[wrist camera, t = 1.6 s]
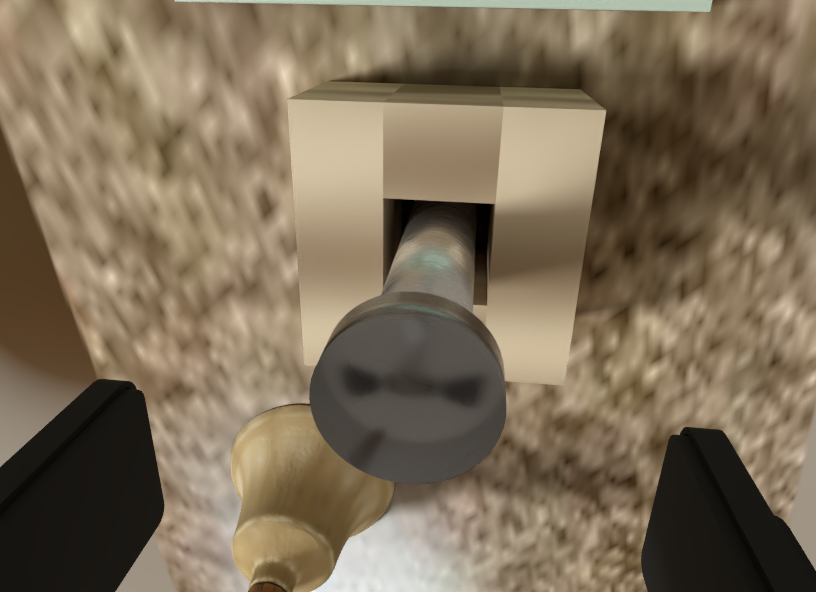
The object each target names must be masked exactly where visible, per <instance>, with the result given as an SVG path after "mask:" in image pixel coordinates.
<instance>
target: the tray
mask: <svg viewBox="0 0 816 592" xmlns="http://www.w3.org/2000/svg"><path fill="white" fill-rule="evenodd" d="M175 1H183V2H213V3H254V4H305V5H355V6H406V7H457V8H507V9H558V10H609V11H659V12H710V9H711V4H712V0H175Z"/></svg>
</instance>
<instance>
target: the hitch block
mask: <svg viewBox="0 0 816 592" xmlns="http://www.w3.org/2000/svg"><path fill="white" fill-rule="evenodd" d="M287 102H288V117H289V133H290V148H291V164H292V179H293V195H294V210H295V226H296V242H297V257H298V273H299V288H300V304H301V319H302V335H303V350H304V365H308V366H316V365H317V363H318V361H319V359H320V356H321V354H322V352H323V350H324V348H325V346H326V344H327V342H328V340H329V338H330V336H331V334H332V332H333V330H334V328H335V327H336V326H337V324H338V323H339V321H340V320H341V319H342V318H343V317H344V316H345V315H346V314H347V313H348V312H349V311H351V310H352V309H353V308H355V307H356V306H358V305H359V304H361V303H363V302H365V301H367V300H369V299H372V298H374V297H377V296H380V295H381V293H382V291H383V288H384V285H385V282H386V280H387V277H388V274H389V271H390V269H391V266H392V263H393V260H394V258H395V255H396V252H397V250H398V247H399V244H400V241H401V239H402V200H403V199H408V200H428V201H448V202H468V203H488V204H490V215H489V228H488V240H487V251H482V250H475V270H474V295H473V314H474V315H475V316H476V317H477V318H478V319H480V320H481V321H482V322H483V324H484V325H485V326H486V327H487V328H488V329H489V331H490V332H491V334H492V335H493V337H494V338H495V340H496V342H497V344H498V347H499V349H500V351H501V355H502V358H503V364H504V372H505V381H513V382H525V383H538V384H551V385H564V383H565V377H566V370H567V364H568V357H569V350H570V344H571V337H572V331H573V324H574V318H575V311H576V305H577V298H578V292H579V285H580V279H581V272H582V266H583V259H584V253H585V246H586V240H587V233H588V227H589V220H590V214H591V207H592V201H593V194H594V187H595V181H596V174H597V168H598V161H599V155H600V148H601V142H602V135H603V129H604V122H605V116H606V110H605V109H604V108H603V107H602V106H600V105H599V104H598V103H597V102H595V101H594V100H593V99H592V98H591V97H589V96H588V95H587V94H586V93H584V92H583V91H582V90H581V89H555V88H523V87H492V86H461V85H430V84H399V83H367V82H336V81H327V82H325V83H323V84H320V85H318V86H316V87H314V88H311V89H309V90H307V91H305V92H302V93H300V94H298V95H296V96H293V97H291V98H289V99H287Z"/></svg>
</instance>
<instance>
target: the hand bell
mask: <svg viewBox="0 0 816 592" xmlns="http://www.w3.org/2000/svg"><path fill="white" fill-rule="evenodd" d="M230 466H231V475H232V480H233V483H234V486H235V489H236V491H237V493H238V495H239V497H240V498H241V500H242V507H241V513H240V517H239V521H238V524H237V528H236V531H235V534H234V537H233V540H232V554H233V558H234V561H235V563H236V565H237V567H238V569H239V570H240V571H241V573H242V574H243V575H244V576H245V577H246V578H247V579H248V580H249V581H251V583H250V585H249V591H248V592H310V591H313V590H315V589H317V588H318V587H320V586H321V585H322V584H324V583H325V582H326V581H327V579H328V578H329V577H330V575H331V574H332V572H333V570H334V568H335V565H336V562H337V560H338V557H339V555H340V553H341V551H342V549H343V546H344V545H345V543H346V541H347V540H348V538H349V537H351V536H354V535H356V534H359V533H360V532H362V531H364V530H366V529H367V528H369V527H370V526H371V525H373V524H374V523H375V522H376V521H377V520H378V519H379V518H380V517H381V516H382V515H383V514H384V512H385V511H386V510H387V508H388V506H389V505H390V502H391V500H392V497H393V493H394V487H395V482H391V481H387V480H383V479H380V478H377V477H374V476H371V475H369V474H367V473H365V472H363V471H361V470H359V469H357V468H355V467H354V466H352V465H350V464H349V463H348V462H346V461H345V460H344V459H342V458H341V457H340V456H339V455H338V454H337V453H336V452H335V451H334V450H333V449H332V448H331V447H330V446H329V445H328V444H327V442H326V441H325V440H324V438H323V437H322V435H321V433H320V432H319V430H318V428H317V426H316V424H315V421H314V419H313V415H312V412H311V407H310V405H287V406H282V407H277V408H275V409H271V410H268V411H266V412H263V413H261V414H260V415H258V416H256V417H254V418H253V419H252V420H251V421H249V422H248V423H247V424H246V425H245V426H244V427H243V428H242V429H241V431H240V432H239V434H238V435H237V437H236V439H235V441H234V444H233V447H232V450H231V457H230Z"/></svg>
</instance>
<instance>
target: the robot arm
mask: <svg viewBox="0 0 816 592" xmlns="http://www.w3.org/2000/svg"><path fill="white" fill-rule="evenodd" d="M163 512H164V499H163V494H162V488H161V483H160V478H159V472H158V467H157V461H156V456H155V451H154V445H153V440H152V434H151V429H150V424H149V418H148V413H147V407H146V402H145V397H144V394H143V393H142V391H140V390H137V389H136V386H135V385H134V384H133V383H132V382H130V381H120V380H107V379H99V380H96V381H95V382H93V383H92V384H91V385H90V386H89V387H88V388H87V389H86V390H85V391H84V392H82V393H81V394H80V395H79V396H78V397H77V398H76V399H75V400H74V401H72V402H71V403H70V405H68V406H67V407H66V408H65V409H64V410H63V411H61V412H60V413H59V414H58V415H57V416H56V417H55V418H54V419H53V420H52V421H51V422H49V423H48V424H47V425H46V426H45V427H44V428H43V429H42V430H41V431H39V432H38V433H37V434H36V435H35V436H34V437H33V438H32V439H31V440H30V441H28V443H26V444H25V445H24V446H23V447H22V448H21V449H20V450H19V451H18V452H17V453H15V454H14V455H13V456H12V457H11V458H10V459H9V460H8V461H7V462H5V463H4V464H3V465H2V466H1V467H0V592H115V591H116V590H117V588H118V587H119V585H120V583H121V582H122V581H123V579H124V577H125V576H126V574H127V573H128V571H129V570H130V568H131V567H132V565H133V564H134V562H135V561H136V559H137V558H138V556H139V555H140V553H141V551H142V550H143V548H144V547H145V545H146V544H147V542H148V541H149V539H150V538H151V536H152V535H153V533H154V532H155V530H156V528H157V527H158V525H159V524H160V522H161V519H162V517H163ZM641 566H642V573H643V577H644V580H645V584H646V587H647V590H648V592H816V571H815V569H814V567H813V566H812V564H811V562H810V561H809V559H808V558H807V556H806V554H805V553H804V551H803V550H802V548H801V546H800V545H799V543H798V541H797V540H796V538H795V536H794V535H793V533H792V531H791V530H790V528H789V527H788V526H787V524H786V523H785V522H784V521H783V520H782V519H781V518H779V517H777V516H774V515H773V513H772V511H771V510H770V508H769V506H768V505H767V503H766V501H765V500H764V498H763V496H762V495H761V493H760V491H759V490H758V488H757V486H756V485H755V483H754V481H753V480H752V478H751V476H750V475H749V473H748V471H747V470H746V468H745V466H744V465H743V463H742V461H741V460H740V458H739V456H738V455H737V453H736V451H735V449H734V448H733V446H732V444H731V443H730V441H729V439H728V438H727V436H726V435H725V433H724V432H723V431H721V430H716V429H704V428H692V427H685V428H683V430H682V431H681V433H680V435H671V437H670V439H669V442H668V445H667V450H666V454H665V458H664V462H663V466H662V470H661V474H660V479H659V483H658V487H657V491H656V495H655V499H654V503H653V508H652V512H651V516H650V520H649V524H648V528H647V532H646V537H645V541H644V545H643V549H642V555H641Z"/></svg>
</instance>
